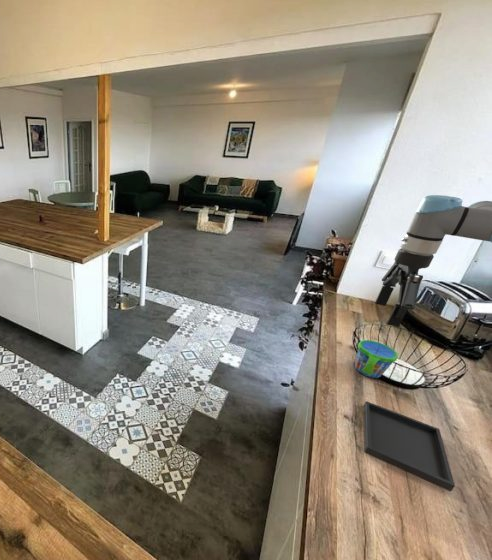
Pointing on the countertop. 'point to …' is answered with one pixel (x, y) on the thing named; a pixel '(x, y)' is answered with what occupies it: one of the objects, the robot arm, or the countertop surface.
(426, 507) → the countertop surface
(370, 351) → the snack cup
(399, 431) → the dark grey tray
